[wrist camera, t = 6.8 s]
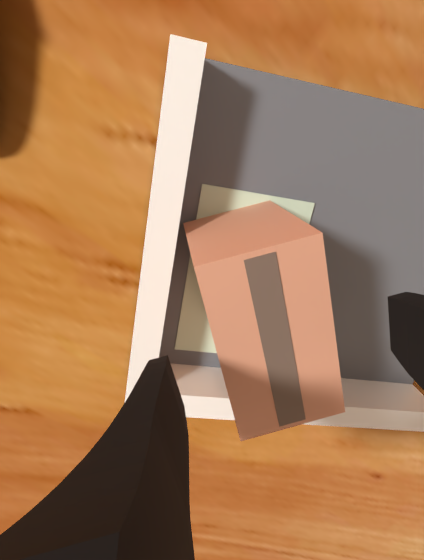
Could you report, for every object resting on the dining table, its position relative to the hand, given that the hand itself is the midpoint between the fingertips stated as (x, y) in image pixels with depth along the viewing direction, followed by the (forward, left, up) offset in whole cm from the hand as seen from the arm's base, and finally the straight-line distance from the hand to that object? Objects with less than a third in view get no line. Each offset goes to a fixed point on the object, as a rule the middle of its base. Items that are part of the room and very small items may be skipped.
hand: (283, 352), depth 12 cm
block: (0, 0, -7) cm, 7 cm away
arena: (-3, -1, -7) cm, 8 cm away
